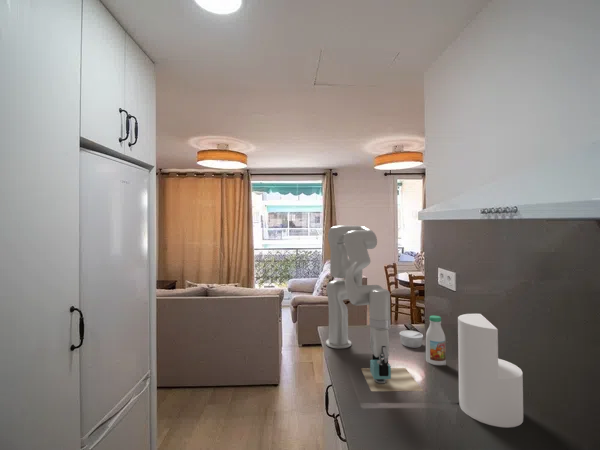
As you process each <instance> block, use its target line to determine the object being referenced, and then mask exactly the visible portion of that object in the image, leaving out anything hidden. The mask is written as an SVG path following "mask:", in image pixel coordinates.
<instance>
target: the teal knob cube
mask: <svg viewBox="0 0 600 450" xmlns="http://www.w3.org/2000/svg"><path fill="white" fill-rule="evenodd" d="M379 364H380V361H379V360H373V359H370V360H369V365H370V366H369V368H370V372H371V374H372V376H373V378H374V379H391V368H392V367H391V365H390V363H389V362H388V364H389V365H388V372H389V375H388V376H379Z"/></svg>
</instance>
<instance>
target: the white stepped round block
mask: <svg viewBox="0 0 600 450" xmlns="http://www.w3.org/2000/svg"><path fill="white" fill-rule="evenodd" d="M498 333H499V329H498V328H497V327H496V326H495V325H494V324H492V323H491V321H489V320H488V319H487V318H486V317H485V316H484V315H482V313H465V314H461V315H459V316H457V335H458V336H457V343H458V344H457V345H458V349H457V350H458V352H457V354H458V356H457V357H458V359H457V360H458V404H459V408H460V409H461V411H462V412H463V413H465V414H466V415H467V416H468V417H470V418H472V419H474V420H475V421H478V422H480V423H482V424H486V425H489V426H492V427H498V428H515V427H516V428H517V427H518V426H520V425H522V423H523V422H524V387H523V386H524V383H523V382H524V381H523V380H524V379H523V377H524V376H523V371H522V369H521V368H520V367H518V365H516V364H514V363H512V362H510V361H507V360H504V359H501V358H499V335H498Z"/></svg>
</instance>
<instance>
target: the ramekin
mask: <svg viewBox="0 0 600 450" xmlns="http://www.w3.org/2000/svg"><path fill="white" fill-rule="evenodd" d="M399 337H400V343H401V344H402V346H404V347H407V348H413V349H417V348H421V346H422V345H423V339H424V335H423V333H421V332H419V331H415V330H406V329H405V330H401V331H400V332H399Z"/></svg>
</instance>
